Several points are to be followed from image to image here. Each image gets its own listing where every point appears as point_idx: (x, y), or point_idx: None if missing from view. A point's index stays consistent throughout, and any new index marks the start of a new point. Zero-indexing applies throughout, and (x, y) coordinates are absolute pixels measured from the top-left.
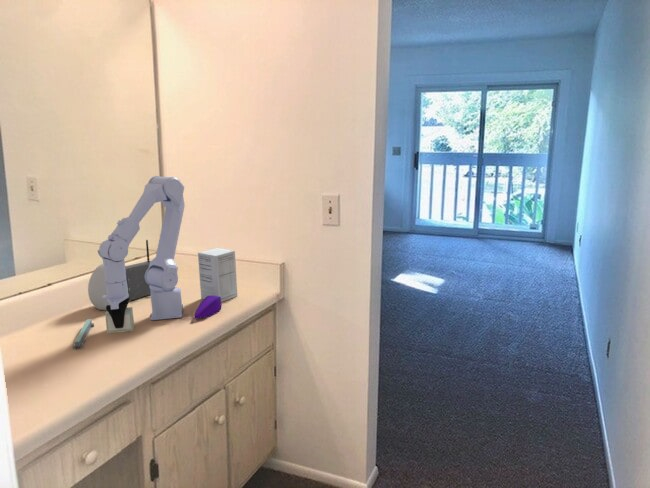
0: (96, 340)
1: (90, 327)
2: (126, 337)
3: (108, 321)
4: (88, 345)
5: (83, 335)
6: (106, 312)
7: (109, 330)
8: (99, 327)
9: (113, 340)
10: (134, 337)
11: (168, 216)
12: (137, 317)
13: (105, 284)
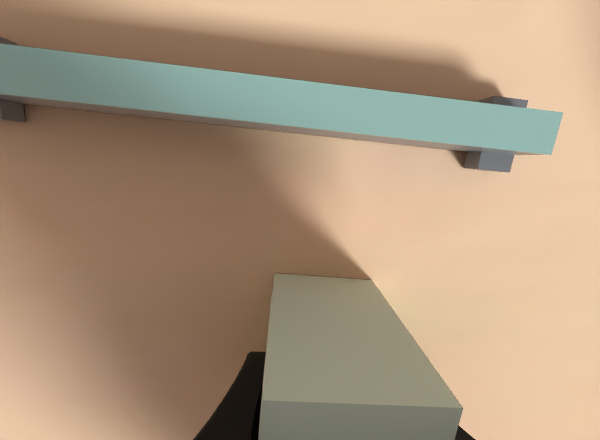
0: (147, 209)
1: (439, 147)
2: (147, 390)
3: (266, 347)
4: (51, 158)
5: (127, 109)
6: (320, 410)
7: (271, 298)
8: (430, 212)
9: (113, 319)
10: (133, 431)
11: None
12: (506, 429)
13: None
